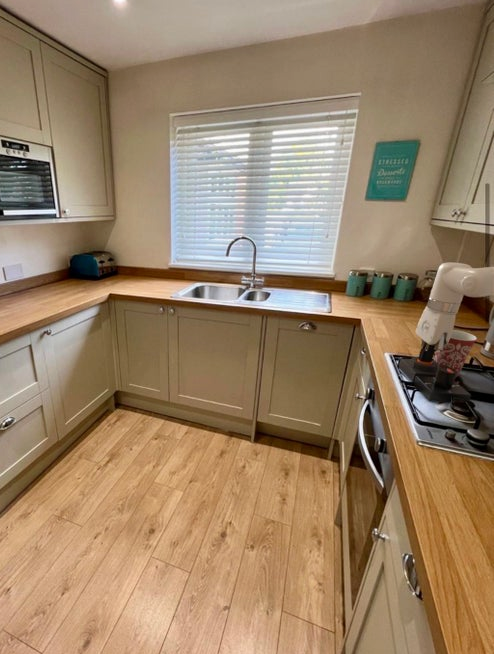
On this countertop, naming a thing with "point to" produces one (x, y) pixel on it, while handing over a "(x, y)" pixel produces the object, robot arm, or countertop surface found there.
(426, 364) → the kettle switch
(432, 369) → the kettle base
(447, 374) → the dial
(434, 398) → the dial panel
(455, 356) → the mug
